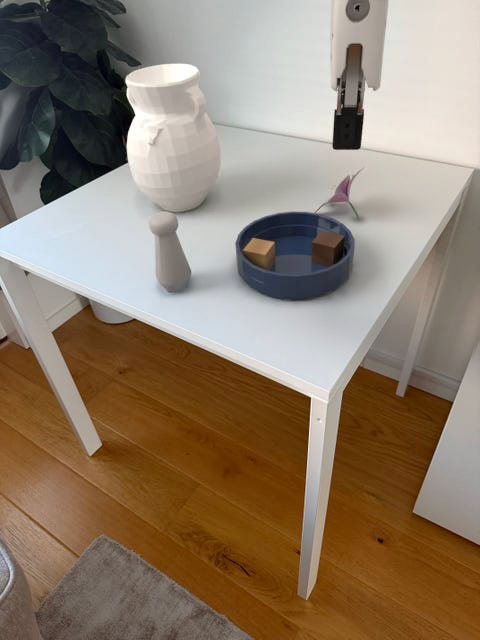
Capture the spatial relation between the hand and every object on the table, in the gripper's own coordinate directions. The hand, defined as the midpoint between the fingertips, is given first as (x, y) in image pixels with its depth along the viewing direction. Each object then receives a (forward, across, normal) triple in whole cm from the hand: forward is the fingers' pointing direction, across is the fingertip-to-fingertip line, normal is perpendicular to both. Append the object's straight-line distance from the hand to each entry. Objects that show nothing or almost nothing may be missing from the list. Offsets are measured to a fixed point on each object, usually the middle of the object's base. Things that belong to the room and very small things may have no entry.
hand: (346, 146), depth 56 cm
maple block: (+24, +10, +13) cm, 29 cm away
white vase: (+25, +33, +33) cm, 53 cm away
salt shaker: (+25, +4, +26) cm, 36 cm away
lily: (+25, +29, 0) cm, 38 cm away
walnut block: (+24, +13, +2) cm, 28 cm away
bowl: (+25, +11, +7) cm, 28 cm away
